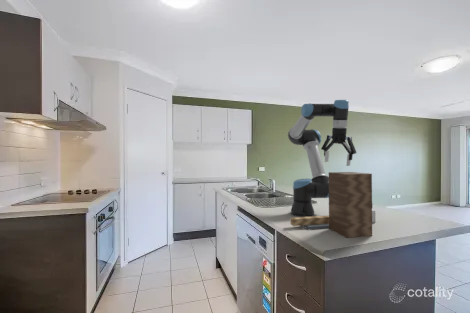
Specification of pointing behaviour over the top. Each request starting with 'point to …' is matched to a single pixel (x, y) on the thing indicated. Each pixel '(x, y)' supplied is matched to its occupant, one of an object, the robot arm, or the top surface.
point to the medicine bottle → (373, 216)
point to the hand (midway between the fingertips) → (336, 163)
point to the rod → (309, 220)
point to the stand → (350, 203)
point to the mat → (317, 226)
